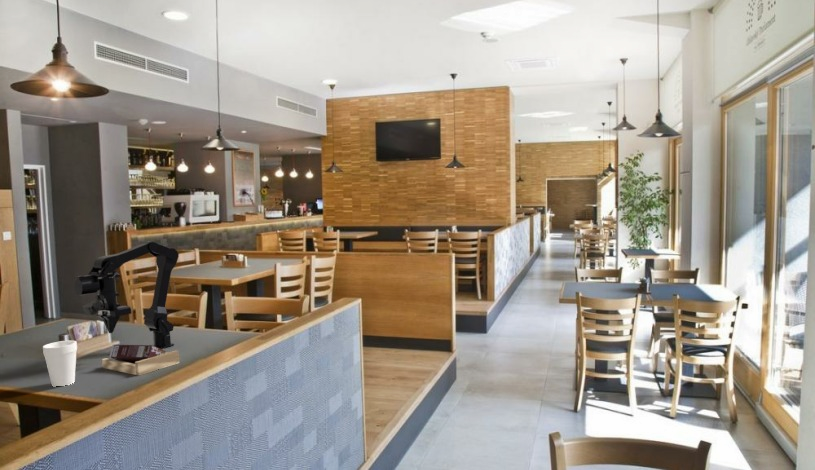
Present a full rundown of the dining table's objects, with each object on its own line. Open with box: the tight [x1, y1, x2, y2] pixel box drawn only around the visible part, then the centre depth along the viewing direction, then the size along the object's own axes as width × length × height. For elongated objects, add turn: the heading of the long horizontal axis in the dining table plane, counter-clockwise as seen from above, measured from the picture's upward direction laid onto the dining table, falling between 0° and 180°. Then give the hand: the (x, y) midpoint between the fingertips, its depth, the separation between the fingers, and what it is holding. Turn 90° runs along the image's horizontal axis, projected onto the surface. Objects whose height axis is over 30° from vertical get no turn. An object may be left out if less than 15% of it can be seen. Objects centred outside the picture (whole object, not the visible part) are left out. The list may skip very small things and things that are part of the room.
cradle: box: [101, 350, 180, 376], centre depth 202 cm, size 22×16×4 cm
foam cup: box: [42, 340, 78, 388], centre depth 184 cm, size 10×9×13 cm
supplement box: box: [108, 344, 167, 363], centre depth 201 cm, size 9×5×16 cm
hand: (110, 333), depth 211 cm, fingers closed
